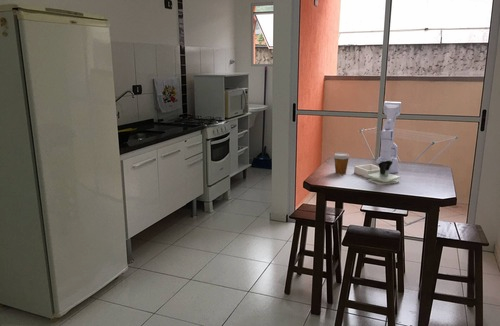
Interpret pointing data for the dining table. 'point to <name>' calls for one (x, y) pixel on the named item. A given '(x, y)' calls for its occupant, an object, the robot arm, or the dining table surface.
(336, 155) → the disposable coffee cup
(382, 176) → the lid
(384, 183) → the mat
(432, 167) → the dining table surface
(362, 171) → the tub
